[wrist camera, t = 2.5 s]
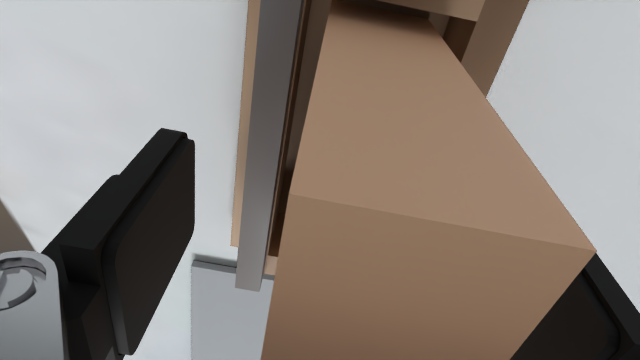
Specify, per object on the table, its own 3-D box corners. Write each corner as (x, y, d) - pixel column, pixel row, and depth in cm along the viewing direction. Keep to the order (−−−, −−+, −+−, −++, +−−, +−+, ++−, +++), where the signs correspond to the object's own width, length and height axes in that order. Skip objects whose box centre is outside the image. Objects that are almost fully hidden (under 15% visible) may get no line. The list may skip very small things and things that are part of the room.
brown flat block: (542, -80, 11) (632, -76, 8) (399, 260, 19) (411, 342, 16) (266, -142, 11) (223, -169, 7) (235, 231, 19) (208, 307, 15)
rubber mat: (460, 307, 21) (461, 313, 20) (398, 409, 27) (399, 415, 27) (193, 260, 20) (190, 266, 20) (193, 375, 26) (191, 381, 26)
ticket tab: (428, 19, 12) (597, 250, 4) (364, 217, 17) (378, 522, 8) (331, -2, 12) (289, 192, 4) (294, 204, 16) (236, 501, 8)
